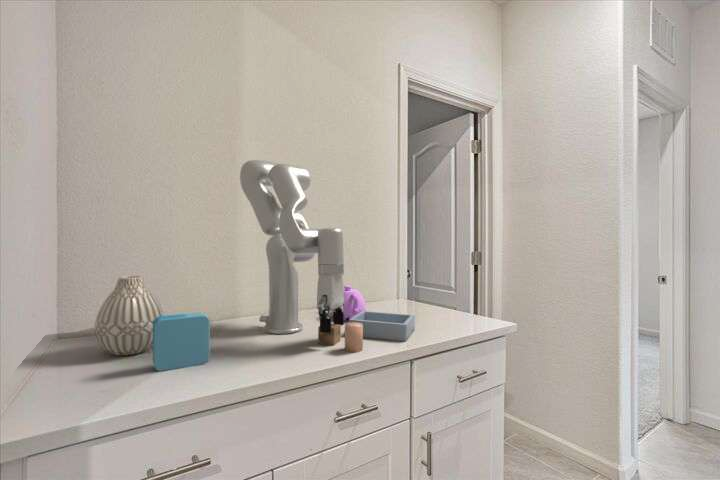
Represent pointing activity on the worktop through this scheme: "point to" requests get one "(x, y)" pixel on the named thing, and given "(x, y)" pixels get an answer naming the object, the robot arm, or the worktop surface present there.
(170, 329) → the data package
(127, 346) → the vase
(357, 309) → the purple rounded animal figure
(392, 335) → the tote
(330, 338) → the wood cube
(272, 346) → the worktop surface
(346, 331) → the terracotta canister
